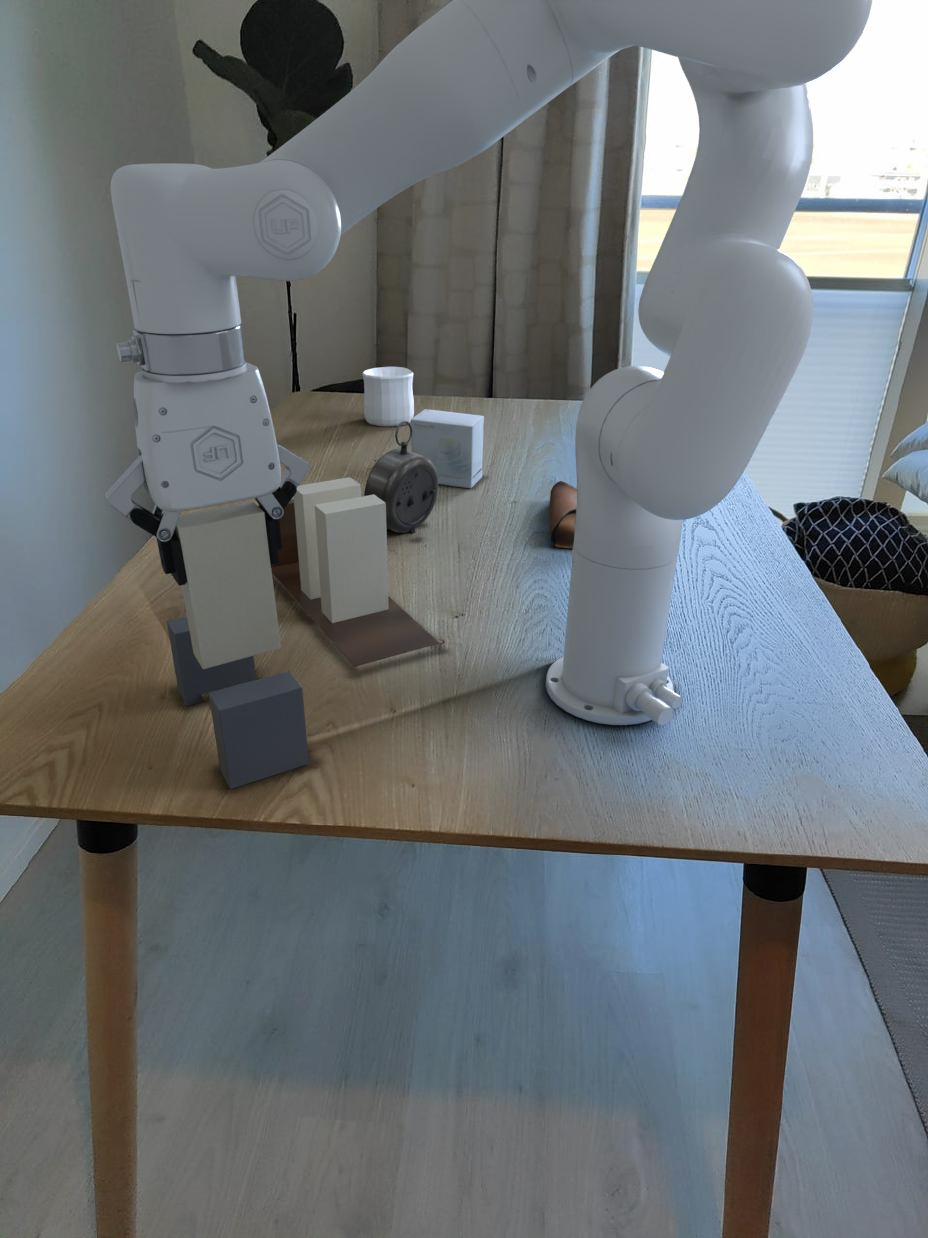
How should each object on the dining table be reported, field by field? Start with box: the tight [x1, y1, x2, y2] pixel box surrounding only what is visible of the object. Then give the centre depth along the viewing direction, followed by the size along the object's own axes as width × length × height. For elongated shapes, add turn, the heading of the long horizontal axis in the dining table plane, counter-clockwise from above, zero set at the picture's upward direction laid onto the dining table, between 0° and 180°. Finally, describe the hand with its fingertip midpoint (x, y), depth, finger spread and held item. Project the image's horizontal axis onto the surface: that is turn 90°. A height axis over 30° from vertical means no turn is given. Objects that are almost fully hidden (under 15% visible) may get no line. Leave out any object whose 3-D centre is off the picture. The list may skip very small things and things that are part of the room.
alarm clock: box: [363, 421, 439, 535], centre depth 116 cm, size 11×5×16 cm, turn 141°
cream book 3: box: [315, 495, 389, 623], centre depth 95 cm, size 3×7×13 cm, turn 120°
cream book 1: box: [175, 500, 282, 669], centre depth 73 cm, size 3×7×13 cm, turn 120°
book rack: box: [257, 498, 440, 667], centre depth 98 cm, size 28×10×9 cm, turn 30°
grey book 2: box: [208, 670, 310, 790], centre depth 72 cm, size 3×7×8 cm, turn 120°
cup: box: [362, 366, 415, 427], centre depth 169 cm, size 10×10×10 cm
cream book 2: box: [293, 476, 362, 600], centre depth 99 cm, size 3×7×13 cm, turn 120°
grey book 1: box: [166, 615, 257, 707], centre depth 83 cm, size 3×7×8 cm, turn 120°
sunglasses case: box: [549, 480, 577, 550], centre depth 124 cm, size 18×7×7 cm
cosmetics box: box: [410, 408, 485, 489], centre depth 138 cm, size 10×6×10 cm, turn 71°
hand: (224, 567), depth 72 cm, fingers closed on cream book 1, 7 cm apart
